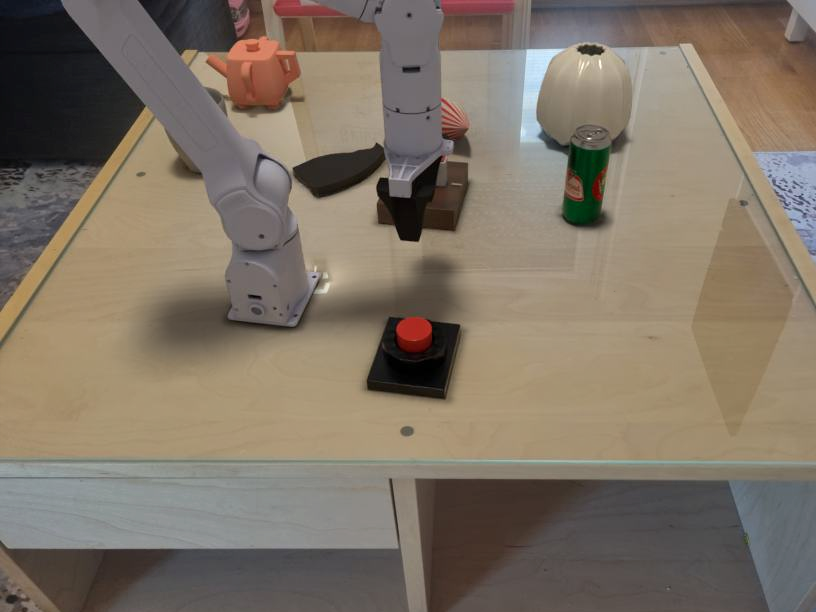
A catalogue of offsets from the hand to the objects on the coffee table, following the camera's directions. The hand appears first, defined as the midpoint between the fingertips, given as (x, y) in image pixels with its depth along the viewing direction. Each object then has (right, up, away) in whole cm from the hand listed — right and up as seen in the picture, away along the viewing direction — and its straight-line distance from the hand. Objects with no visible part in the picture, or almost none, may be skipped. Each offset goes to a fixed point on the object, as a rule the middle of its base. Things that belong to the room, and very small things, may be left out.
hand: (416, 219), depth 81 cm
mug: (-33, +13, +28) cm, 45 cm away
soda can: (+21, +3, +17) cm, 27 cm away
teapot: (-28, +27, +42) cm, 58 cm away
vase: (+23, +18, +33) cm, 44 cm away
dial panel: (0, +6, +20) cm, 20 cm away
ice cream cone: (+1, +19, +34) cm, 39 cm away
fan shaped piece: (-12, +10, +25) cm, 29 cm away
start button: (0, -13, -4) cm, 14 cm away
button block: (0, -15, -2) cm, 15 cm away
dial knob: (0, +8, +17) cm, 19 cm away
